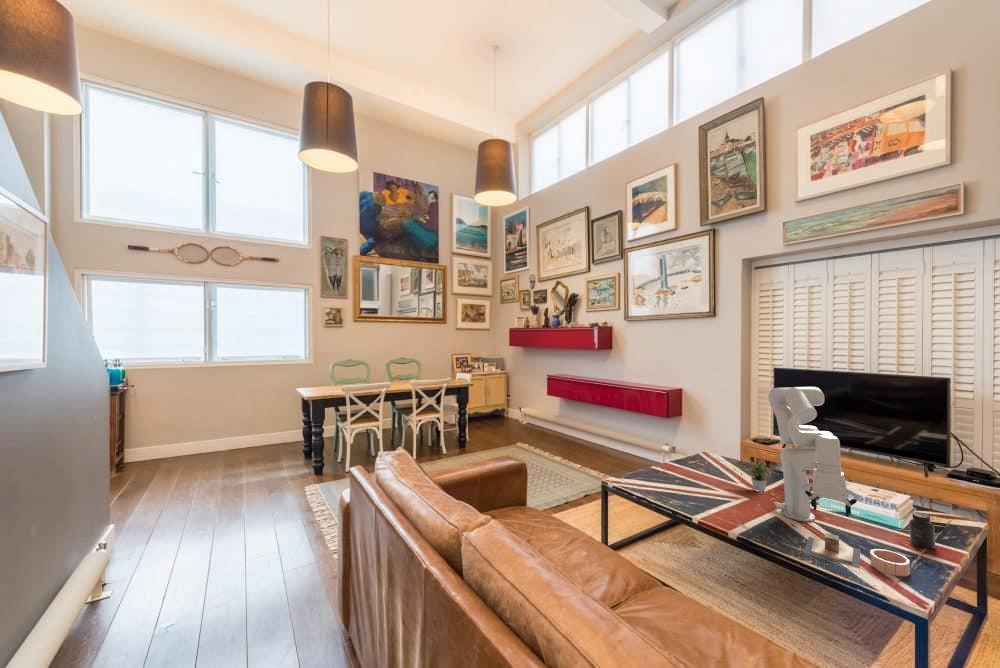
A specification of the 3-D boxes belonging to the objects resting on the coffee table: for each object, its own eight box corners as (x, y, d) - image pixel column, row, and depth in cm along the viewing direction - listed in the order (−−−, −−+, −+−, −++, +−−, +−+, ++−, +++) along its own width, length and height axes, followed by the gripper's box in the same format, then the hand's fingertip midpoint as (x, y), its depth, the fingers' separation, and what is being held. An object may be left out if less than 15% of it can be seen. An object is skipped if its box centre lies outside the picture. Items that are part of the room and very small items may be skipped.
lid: (811, 552, 154) (810, 537, 154) (814, 540, 162) (813, 525, 162) (852, 563, 145) (851, 548, 146) (853, 549, 154) (852, 535, 154)
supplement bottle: (940, 550, 153) (939, 519, 153) (920, 549, 155) (918, 518, 155) (925, 540, 160) (923, 511, 160) (905, 540, 161) (903, 510, 161)
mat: (804, 555, 154) (804, 553, 154) (808, 539, 165) (808, 536, 165) (859, 571, 143) (859, 568, 143) (860, 552, 154) (860, 549, 154)
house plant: (747, 482, 227) (745, 454, 227) (776, 488, 218) (774, 458, 218) (740, 490, 217) (739, 460, 217) (771, 496, 207) (769, 465, 207)
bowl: (871, 571, 142) (870, 557, 142) (871, 559, 149) (870, 546, 149) (911, 582, 135) (910, 568, 135) (909, 569, 143) (908, 555, 143)
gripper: (799, 466, 157) (801, 509, 157) (858, 474, 145) (860, 521, 145) (801, 461, 163) (804, 503, 162) (858, 469, 151) (861, 514, 150)
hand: (830, 512), depth 154 cm, fingers open, 9 cm apart
